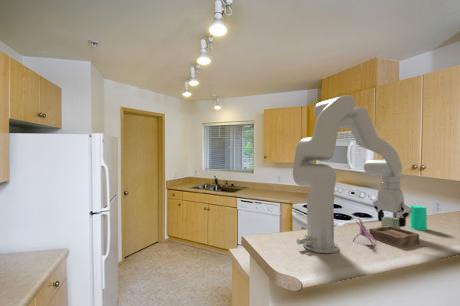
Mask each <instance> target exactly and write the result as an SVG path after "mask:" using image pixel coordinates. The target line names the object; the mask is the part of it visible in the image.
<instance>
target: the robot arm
mask: <svg viewBox="0 0 460 306" xmlns="http://www.w3.org/2000/svg"><path fill="white" fill-rule="evenodd" d="M356 104H357V103H356V99H355V98H354V97H353V96H352V95H349V94H348V95H345V94H344V95H340V96H338V97H337V96H336V97H333V98H330V99H327V100H323V101H321V102H318V103H317V104H316V105H315V106H314V108H313V114H314V115H313V116H314V117H315V118H316V121H315V123H314V128H313V133H312V136H311V137H310V136H309V137H304V138H302V139H301V140H300V141H298V143H297V145H296V147H295V152H294V159H293V166H292V168H293V169H292V179H293V181H294V182H295V184H296V185H298V186H300V187H305V188H310V191H309V192H308V194H307V197H306V234H304V237H303V238H297V239H296V244H297V245H303V247H304V248H305V249H306V250H308V251H311V252H313V253H318V254H334V253H337V252H338V251H339V249H340V248H339V245H338V244H337V243H336V242H335V223H334V221H335V220H334V218H335V215H334V214H335V213H334V212H335V211H334V201H335V200H334V197H335V196H334V195H335V194H334V193H335V187H336V182H337V172H336V170H335V169H334V168H333V166H331V165H328V164H324V163H314V161H315V162H316V161H319V162H320V161H324V162H325V161H326V162H327V161H329V160H331V159H333V158H334V156H335V151H336V148H337V147H336V146H337V136H338V130H341V129H343V130H344V129H350V131H351V134H352V137H353V139H354V140H355V142H356V144H357V146H359V147H361V148H363V149H365V150H368V151H372V152H374V153H375V154H378V155H379V156H380V157H381V158H373V159H372V158H371V159H369V160H366V161H365V163H364V165H363V169H364V172H365V173H366V174H367V175H369V176H374V177H380V182H378V185H379V186H380V187H379V188H378V190H377V191H378V192H377V198H376V199H377V200H375V201H372V204H373V208H374V209H375V211H376V212H377V219H378V222H382V217H385V212H390V213H395V214H397V215H399V217H398V219H399V226H400V228H403V227H406V226H407V225H406V224H407V218H408V217H410V213H411V211H412V209H411V208H410V206H408V205H406V204H405V197H404V193H403V189H401V174H402V172H403V165H402V160H401V159H400V156H399V154H398V152H397V150H396V149H395V148H394V147H393V146H392V145H391V144H390V143H388V142H387V141H386V140H384V139H382V138H381V137H379V135H378V133H377V131H376V129H375V126H374V123H373V121H372V118H371V116H370V114H369V112H368V109H366V108H365V107H363V106H356ZM384 211H385V212H384Z"/></svg>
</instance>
